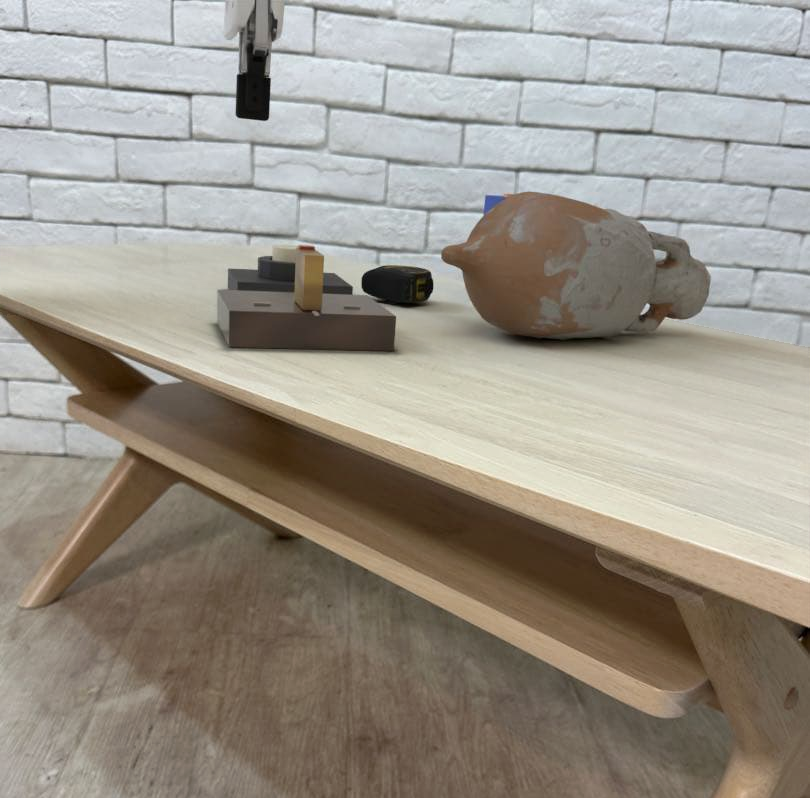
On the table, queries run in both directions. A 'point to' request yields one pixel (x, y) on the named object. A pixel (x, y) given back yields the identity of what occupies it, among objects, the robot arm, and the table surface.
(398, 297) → the tape measure
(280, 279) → the dark grey stepped block
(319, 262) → the gold rectangular block
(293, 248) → the bell button
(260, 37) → the robot arm
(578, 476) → the table surface
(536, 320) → the amphora
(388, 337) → the plate
